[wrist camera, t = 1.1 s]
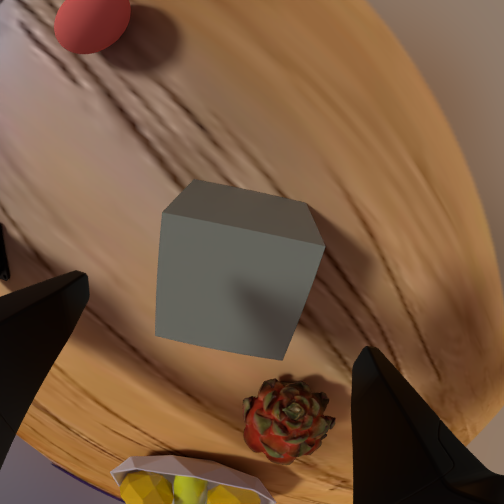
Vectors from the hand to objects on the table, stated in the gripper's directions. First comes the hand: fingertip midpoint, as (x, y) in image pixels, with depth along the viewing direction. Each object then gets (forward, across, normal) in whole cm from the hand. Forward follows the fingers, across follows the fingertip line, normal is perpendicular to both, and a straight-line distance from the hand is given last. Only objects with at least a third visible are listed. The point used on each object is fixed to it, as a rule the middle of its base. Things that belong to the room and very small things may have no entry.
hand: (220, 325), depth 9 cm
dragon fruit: (+13, -8, +19) cm, 24 cm away
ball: (+9, +13, -11) cm, 19 cm away
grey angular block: (+12, 0, +3) cm, 13 cm away
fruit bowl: (+12, 0, +47) cm, 49 cm away
